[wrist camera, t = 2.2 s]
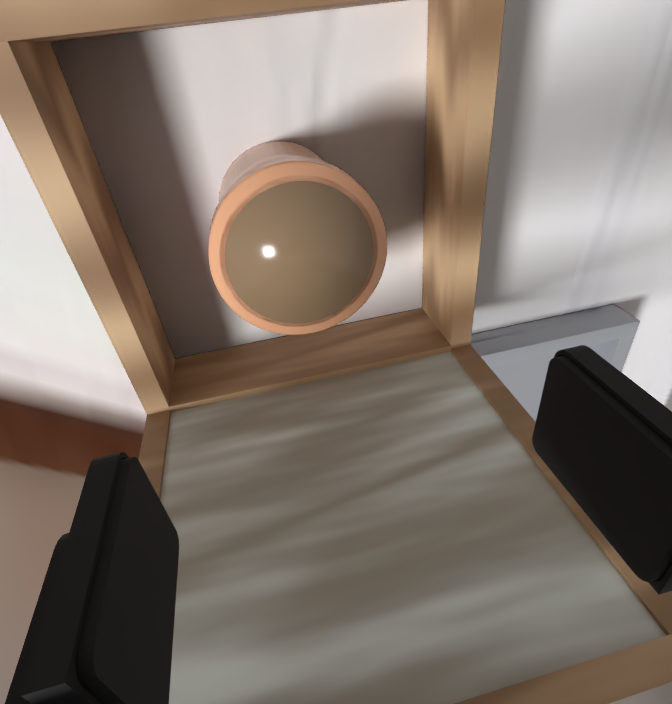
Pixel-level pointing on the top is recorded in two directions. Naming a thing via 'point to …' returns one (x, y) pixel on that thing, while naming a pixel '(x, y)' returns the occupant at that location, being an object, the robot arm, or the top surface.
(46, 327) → the top surface
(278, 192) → the terracotta pot
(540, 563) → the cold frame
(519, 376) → the slate tray
